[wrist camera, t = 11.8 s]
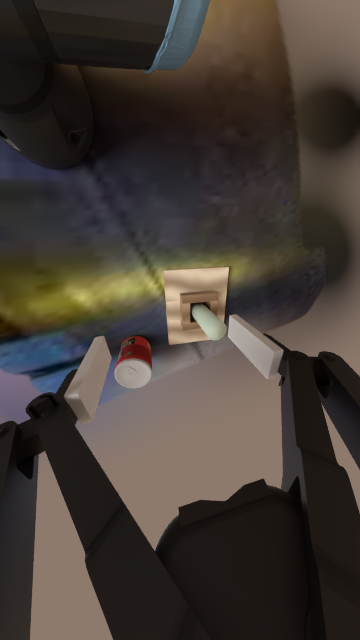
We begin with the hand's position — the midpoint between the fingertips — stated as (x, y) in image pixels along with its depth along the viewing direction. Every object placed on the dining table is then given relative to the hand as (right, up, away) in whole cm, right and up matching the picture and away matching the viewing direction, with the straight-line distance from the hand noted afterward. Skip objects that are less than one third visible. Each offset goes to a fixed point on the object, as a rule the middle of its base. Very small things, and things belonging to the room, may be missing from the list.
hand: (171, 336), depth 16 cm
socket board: (+5, +5, +26) cm, 27 cm away
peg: (+5, +5, +26) cm, 27 cm away
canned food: (-11, -6, +27) cm, 30 cm away
